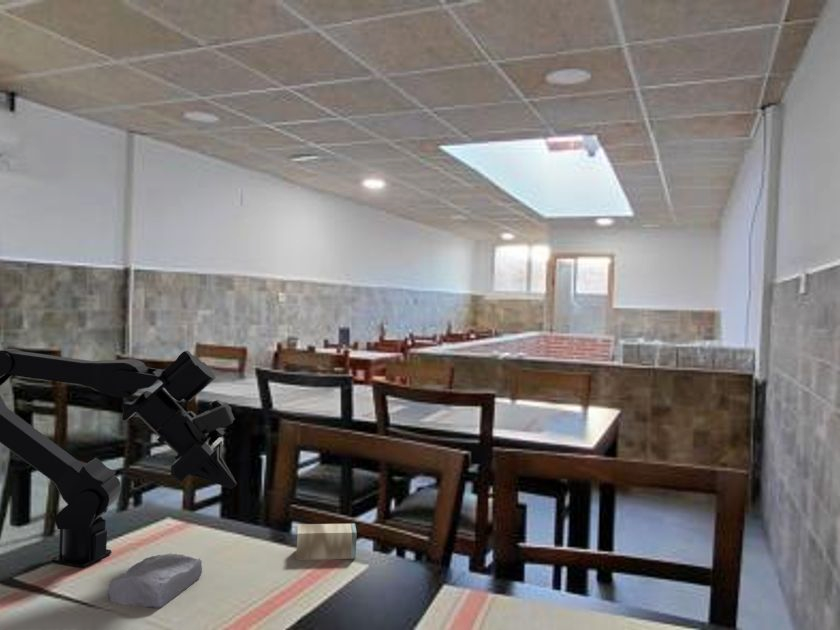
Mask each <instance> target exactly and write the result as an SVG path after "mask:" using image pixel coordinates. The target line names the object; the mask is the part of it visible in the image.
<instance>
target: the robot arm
mask: <svg viewBox="0 0 840 630" xmlns="http://www.w3.org/2000/svg"><path fill="white" fill-rule="evenodd" d="M13 376H14V377H21V378H28V379H29V378H30V379H37V380H43V381H44V380H45V381H50V382H59V383H64V384H65V383H67V384H74V385H80V386H84V387H88V388H90V389H92V390H94V391H96V392H98V393H102V394H104V395H107V396H112V397H114V398H117V399H125V398H128V397H132V396H133V395H135V394H138V393H140V392H141V391H143V390H144V389H148V388H151V387H153V386H155V385H157V384H159V383H161V382H162V384H161V385H159V386H158V388H156V389H155V390H154V391H153V392H152V391H149V390H148V391H147V390H145V391H144V392H142V393H141V394H139V396H137V398H136V399H134V400H133V401H125V402H124V403H123V404H122V409H123V411H122V418H121V419H122V421H124V422H126V421H127V420H129V419H130V418H132V417H134V415H135V414H136V415H137V416H138V417H139V418H140V419H141V420H142V421H143V422H144V423H145V424H146V425H147V426H148V427H149V428H150V429H151V430H152V432H154V433H155V434H156V435H157V436H158V438H157V439H156V441H158V443H159V444H160V445H162V444H163V443H164V444H165V445H167V446H168V448H170V449H171V451H173V452H174V453H175V455H176V456H175V457H174V459H175V461H174V463H172V465H171V466H170V476H171V477H172V478H173V479H174V480H176V481H177V482H178V483H179V484H180V483H181V482H183V481H184V480H185V479H186V478H187V477H188V476H189V477H192V476H193V477H196V478H198V479H202V480H203V481H204V480H205V481H208V482H210V483H214V484H216V485H219V486H222V487H225V488H227V489H230V490H231V489H232V490H233V489H234V488H235V487H236V486H237V481H236V480H235V477H234V476H233V474H232V472H231V470H230V469H229V466H228V465H227V463H226V461H225V460H224V458H223V455H222V445H223V441H220V442H219V443H217V445H216V446H215V445H214V443H215V442H216V441H217V440H219V439H220V438H222V437H223V436H224V435H225V432H226V431H224V430H223V429H222V428H225V427H228V426H230V425H232V424H233V423H234V421H235V420H236V418H235V417H234V414H233V412H232V406H230V405H229V403H228V402H224V403H223V402H222V401H221V400H219V399H216V400H214V401H211V402H210V403H209V404H208V410H205V411H204V412H202V413H200V414H198V415H197V414H196V413H195V412H194V411H192V410H188V411H186V410H185V409H184V408H183V406H181V405H180V404H179V403H178V402H183V400H184V401H186V402H191V401H192V400H193V399H195V398H196V396H198V395H199V394H200V393H201V392H202V391H203V390H205V388H207V387H208V386H209V385H210V384H211V383H212V382H213V381H214V380H216V375H215V373H214V372H213V370H212V369H211V368H210V367H209V365H207V363H206V362H205V361H202V360H201V359H199V358H198V357H196V355H194V354H192V353H191V352H190V351H189V350H184V351H183V352H181V353H180V354H179V355H178V356H177V358H176V359H175V360H174V361H173V362H172V363H171V364H170V365H168V366H167V368H165V369H161V368H153V367H148V366H147V365H146V364H145V362H143V361H141V360H138V359H133V358H132V359H131V358H130V359H107V360H85V359H79V358H72V357H66V356H58V355H52V354H51V355H50V354H46V353H44V354H43V353H36V352H29V351H23V350H20V349H17V348H9V349H1V350H0V387H2V386H3V385H4V384H5V383H6V382H7V381H8V380H9V379H11V378H12V377H13ZM177 401H178V402H177ZM0 444H2V445H3V446H4V447H6V448H7V449H8V450H9V451H11V452H12V453H14V454H15V455H16V456H18V457H19V458H21V459H22V460H23V461H24V462H26V463H27V464H28V465H30V466H32V467H33V468H34V469H35V470H36V471H37V472H39V473H40V474H42V475H43V476H45V477H46V478H47V479H49V480H50V481H51V482H52V483H54V485H55V486H56V488H57V490H58V492H59V494H60V496H61V498H62V500H63V501H64V502H65V503H66V506H64V508H62V509H61V510H60V511H59V512H58V513H56V515H54V517H53V520H54V522H55V525H56V528H57V529H58V530H59V543H58V544H59V546H58V547H59V548H58V555H55V556H53V557H51V559H50V561H51V563H58V564H62V565H67V566H74V567H77V568H78V567H80V568H84V567H87V566H89V565H91V564H93V563H95V562H97V561H99V560H101V559H103V558H106V556H109V555H111V554H112V550H111V549H108V548H107V546H108V545H107V544H108V543H107V541H108V540H107V539H108V531H107V529H106V522H107V519H103V515H104V514H106V513H107V511H108V510H109V508H110V507H111V506H112V504H114V502H116V501H117V500H118V498H119V497H120V496H121V492H122V487H121V481H120V479H119V478H118V476H117V475H115V474H116V473H117V471H116V470H114V469H111V468H109V467H107V466H106V465H105V464H104V463H103V462H102V460H100V459H99V458H97V457H94V458H93V459H92V460H90V461H89V462H84V461H81V460H78V459H77V458H75V457H74V456H73V455H71V454H70V453H68V452H67V451H66V450H64V449H63V448H62V447H60V446H59V445H58V444H56V443H55V442H54V441H53V440H51V439H50V438H48V437H47V436H45V434H43V433H42V432H40V431H39V430H38V429H36V428H35V427H34V426H32V425H31V424H29V423H28V422H27V421H26V420H24V419H23V418H22V417H20V416H19V415H17V414H16V413H15V412H14V411H12V410H11V409H10V408H8V406H7V405H6V403H5V401H4V399H3V397H2V396H1V394H0Z"/></svg>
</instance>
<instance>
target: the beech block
mask: <svg viewBox="0 0 840 630" xmlns="http://www.w3.org/2000/svg"><path fill="white" fill-rule="evenodd" d="M357 534H358V533H357V528H356V523H311V524H310V523H308V524H307V523H306V524H305V523H304V524H301V523H299V524H297V537H296V539H297V541H296V561H299V560H300V561H301V560H303V561H304V560H305V561H306V560H309V561H310V560H337V559H338V560H341V559H342V560H344V559H346V560H347V559H350V560H351V559H356V555H357V553H356V552H357Z"/></svg>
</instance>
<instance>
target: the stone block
mask: <svg viewBox="0 0 840 630" xmlns="http://www.w3.org/2000/svg"><path fill="white" fill-rule="evenodd" d="M202 562H203V561H202V560H201V558H194V557H191V556H187V555H185V554H180V553H179V554H178V553H172V552H170V553H165V554H157V555H152V556H149V557H145V558H144V559H143V560H141V561H139V562H137V563H135V564H134V565H132V566H131V567H129V568H128V569H127V571H125V573H123V574H120V575H119V576H117V577H114V578H112V579H111V580H110V581H109V583H108V590H107V592H108V595H109V599H110V601H111V603H116V604H119V605H122V606H124V605H125V606H138V605H139V607H143V608H144V607H145V608H154V609H155V608H156V609H161V608H163V607H165V606H167V604H169V603H170V602H171V601H172V600H174V599H175V598H176V597H178V596H179V595H181V594H182V593H183V592H184V591H186V590H187V589H188V588H189V587H190V586H193V585H194V583H196V582H198V580H199V579H200V578H201V575H202V573H203V566H202Z"/></svg>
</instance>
